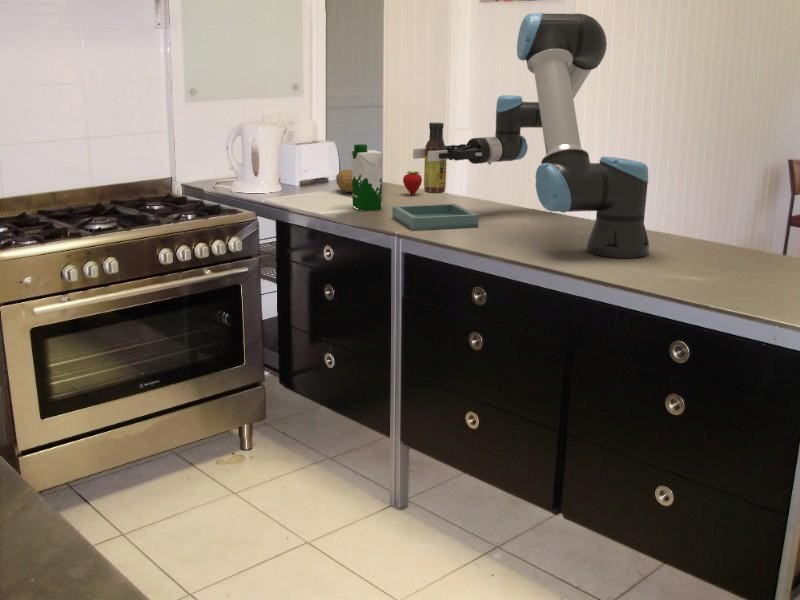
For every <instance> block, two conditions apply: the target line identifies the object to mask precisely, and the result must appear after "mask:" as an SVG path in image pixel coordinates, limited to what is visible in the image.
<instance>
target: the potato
mask: <svg viewBox="0 0 800 600" xmlns="http://www.w3.org/2000/svg"><path fill="white" fill-rule="evenodd" d="M336 184H337V186H338V188H339V189H341V190H343V191H344V192H346V191H347V193H348V192H352V169H343V170H340V171H339V172H338V174H337V175H336Z"/></svg>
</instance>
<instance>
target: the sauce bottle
mask: <svg viewBox="0 0 800 600" xmlns="http://www.w3.org/2000/svg"><path fill="white" fill-rule="evenodd" d="M428 125H429V136H428V137H429V139H428V141H427V142H426V143H425V144H426V145H425V147H424V148H425V158H424V168H423V170H424V171H423V188H424V189H423V191H424V192H425V193H426V194H443V193H445V191H446V184H447V183H446V182H447V181H446V180H447V160H441V161H428V151H441V150H446V147H445V146H446V145H445V141H444V134H443V132H444V130H443V129H444V122H440V121H439V122H437V121H435V122H433V121H432V122H429V123H428Z"/></svg>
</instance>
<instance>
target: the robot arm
mask: <svg viewBox="0 0 800 600" xmlns="http://www.w3.org/2000/svg"><path fill="white" fill-rule="evenodd" d="M607 44H608V43H607V35H606V32H605V31H604V28H603V26H602V25H601V24H600V23H599V21H598V20H596V19H595V18H594V17H592V16H590V15H588V14H584V13H543V12H535V13H534V12H533V13H528V14H526V15H525V16H524V17H523V19H522V21H521V23H520V27H519V31H518V35H517V43H516V55H517V58H518V59H519V60H521V61H523V62H524V61H526V66H527V69H528V71H529V72H530V73H531V74H533V75H534V79H535V86H536V92H537V100H538V101H523V97H522V96H521V95H509V94H508V95H506V94H505V95H500V96H498V98H497V100H496V106H495V107H496V109H495V133H494V134H495V136H484V137H473V138H470V139H469V140H467V142H466V144H464V143H462V144H461V143H460V144H457V145H456V144H451V145H445V147H446V150H441V151H428V161H441V160H446V161H448V160H449V161H453V160H454V161H455V162H457V161H464V160H465V161H466V160H467V161H469V162H470V164H474V165H476V164H486V163H487V164H488V165H492V163H498V162H513V161H518V160H521V159H523V158H524V157H525V156H526V154H527V152H528V149H529V148H528V145H529V144H528V143H527V140H526V138H525V137H524V136H523V135H521V129H523V128H528V129H529V128H533V129H536V128H542V134H543V142H544V149H545V155H544V157H543V158H542V159H541V162H540V163H541V164H539V165H538V167H537V168H536V171H535V178H534V179H535V181H536V182H535V190H536V195H537V198H538V200H539V203H540V204H541V206H542V207H543V208H544V209H545V210H546V211H548V212H559V213H567V212H568V213H569V212H570V213H571V212H572V213H573V212H596V215H595V216H596V217H595V221H594V224H593V227H592V229H591V232H590V233H589V236H588V239H587V242H586V251H587V252H588V253H591V254H593V255H596V256H602V257H606V258H618V259H619V258H621V259H632V258H633V259H636V258H643V257H645V256H648V255H649V254H650V253H649V252H650V243H649V239H648V238H649V237H648V234H647V230H646V225H645V214H646V205H647V196H648V184H649V167H648V165H646V164H645V163H644V162H642V161H637V160H632V159H628V158H627V159H626V158H620V157H613V156H601V157H600V159H599V162H591V161H590V157H589V156H590V155H589V152H588V151H586V149H584V148H582V144H581V139H580V133H579V127H578V126H579V125H578V121H577V113H576V108H575V102H574V98H575V97H576V96H577V94H578V92H579V91H580V90H581V87H582V86H583V85H584V82H585V81H586V79H587V78H588V76H589V74H590V73H591V71H593V70H594V69H597V68H598V67H599V65H600V64H601V63H602V60H603V59H604V57H605V55H606V52H607V46H608V45H607ZM412 159H413V160H417V159H425V147H423V148H422V147H421V148H420V147H419V148H413V149H412Z"/></svg>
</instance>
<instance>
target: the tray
mask: <svg viewBox="0 0 800 600" xmlns="http://www.w3.org/2000/svg"><path fill="white" fill-rule="evenodd" d="M391 212H392V216H391V217H392V219H393V220H395V221H396V222H398V223H400V225H403V226H404V227H405V228H407V227H408V229H409V230H411V231H412V232H413V231H415V230H416V231H428V230H429V231H431V230H432V231H433V230H434V229H435V230H450V229H451V230H452V229H471V228H472V229H473V228H479V214H477V213H475V212H473V211H470V210H468V209H466V208H464V207H462V206H460V205H457V204H456V203H443V204H442V203H441V204H419V205H418V204H416V205H395V206H392V211H391Z"/></svg>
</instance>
